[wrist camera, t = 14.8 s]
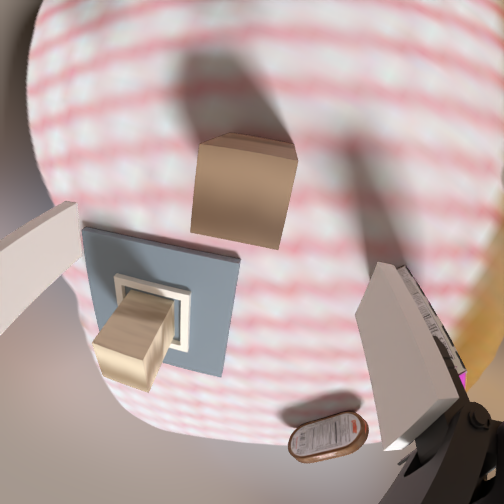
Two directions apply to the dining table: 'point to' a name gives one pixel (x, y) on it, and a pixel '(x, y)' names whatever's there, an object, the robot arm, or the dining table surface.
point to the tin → (328, 437)
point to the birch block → (136, 340)
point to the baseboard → (173, 275)
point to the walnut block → (243, 189)
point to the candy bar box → (432, 320)
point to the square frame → (163, 291)
